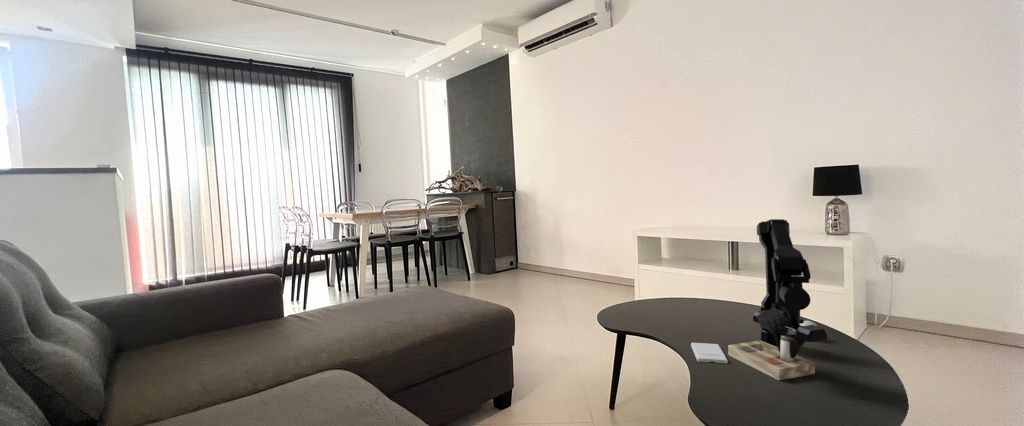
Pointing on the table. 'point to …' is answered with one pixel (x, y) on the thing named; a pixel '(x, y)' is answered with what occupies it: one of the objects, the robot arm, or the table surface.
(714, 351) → the external hard drive
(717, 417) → the table surface
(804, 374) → the socket block
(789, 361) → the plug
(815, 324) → the white egg
